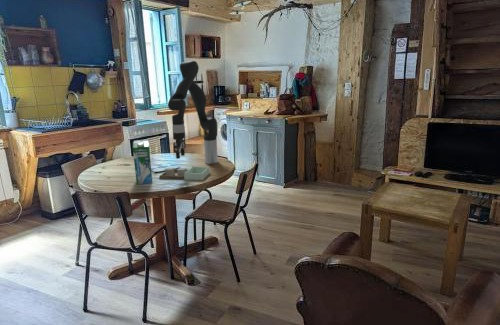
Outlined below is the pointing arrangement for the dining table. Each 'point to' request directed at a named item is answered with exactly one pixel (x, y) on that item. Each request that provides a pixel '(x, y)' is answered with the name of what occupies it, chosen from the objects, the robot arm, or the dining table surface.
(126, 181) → the dining table surface
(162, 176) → the tray
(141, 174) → the milk carton
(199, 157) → the dining table surface
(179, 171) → the stone
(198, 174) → the bin
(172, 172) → the stone
